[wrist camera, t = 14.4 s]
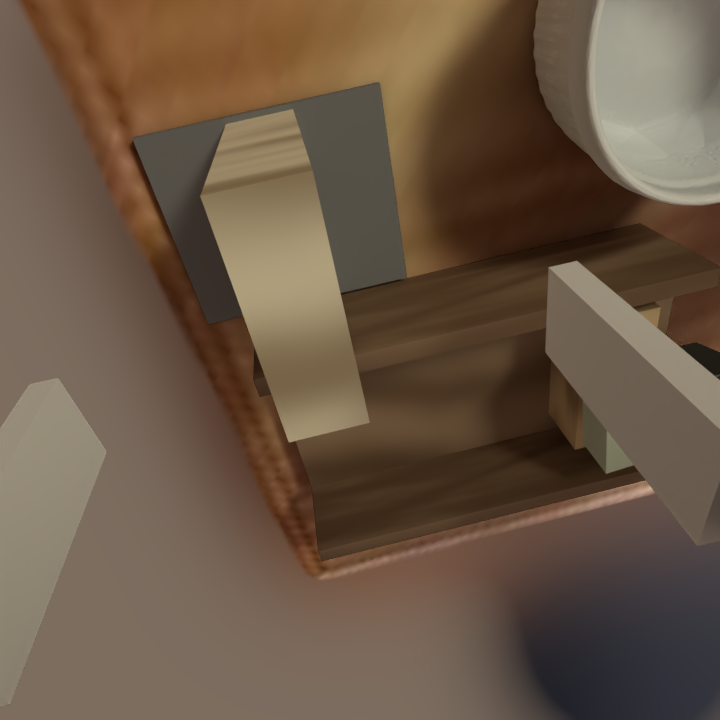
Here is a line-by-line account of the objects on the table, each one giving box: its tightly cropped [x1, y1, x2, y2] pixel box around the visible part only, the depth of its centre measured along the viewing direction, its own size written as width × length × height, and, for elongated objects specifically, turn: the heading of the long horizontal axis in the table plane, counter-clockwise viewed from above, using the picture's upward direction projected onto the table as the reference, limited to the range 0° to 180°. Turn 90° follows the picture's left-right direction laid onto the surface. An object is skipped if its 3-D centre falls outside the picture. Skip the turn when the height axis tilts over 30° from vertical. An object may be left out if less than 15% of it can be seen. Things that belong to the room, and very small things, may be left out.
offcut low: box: [549, 302, 661, 450], centre depth 30 cm, size 9×4×4 cm, turn 10°
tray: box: [253, 223, 720, 561], centre depth 30 cm, size 14×22×6 cm, turn 100°
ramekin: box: [533, 0, 720, 206], centre depth 20 cm, size 13×13×7 cm
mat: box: [133, 82, 407, 324], centre depth 25 cm, size 10×11×1 cm
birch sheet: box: [200, 109, 370, 442], centre depth 20 cm, size 9×3×11 cm, turn 10°
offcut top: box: [583, 401, 633, 474], centre depth 28 cm, size 7×4×2 cm, turn 15°
